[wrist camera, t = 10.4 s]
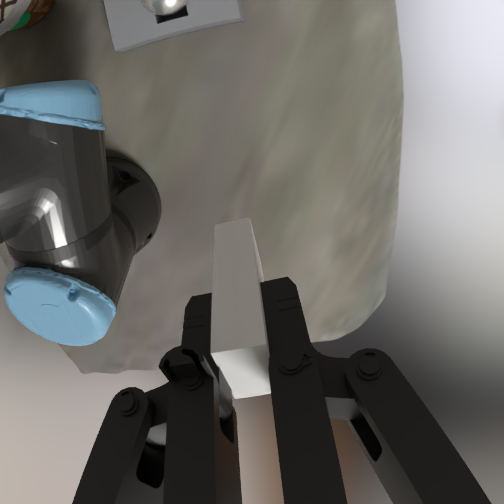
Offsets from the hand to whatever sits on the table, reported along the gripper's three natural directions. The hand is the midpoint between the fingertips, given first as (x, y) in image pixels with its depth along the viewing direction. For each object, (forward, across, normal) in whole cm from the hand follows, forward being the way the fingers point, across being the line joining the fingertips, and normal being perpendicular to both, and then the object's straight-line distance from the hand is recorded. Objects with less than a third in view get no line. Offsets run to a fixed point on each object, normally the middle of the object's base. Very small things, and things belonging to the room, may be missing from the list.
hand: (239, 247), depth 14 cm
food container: (+30, -24, +25) cm, 46 cm away
